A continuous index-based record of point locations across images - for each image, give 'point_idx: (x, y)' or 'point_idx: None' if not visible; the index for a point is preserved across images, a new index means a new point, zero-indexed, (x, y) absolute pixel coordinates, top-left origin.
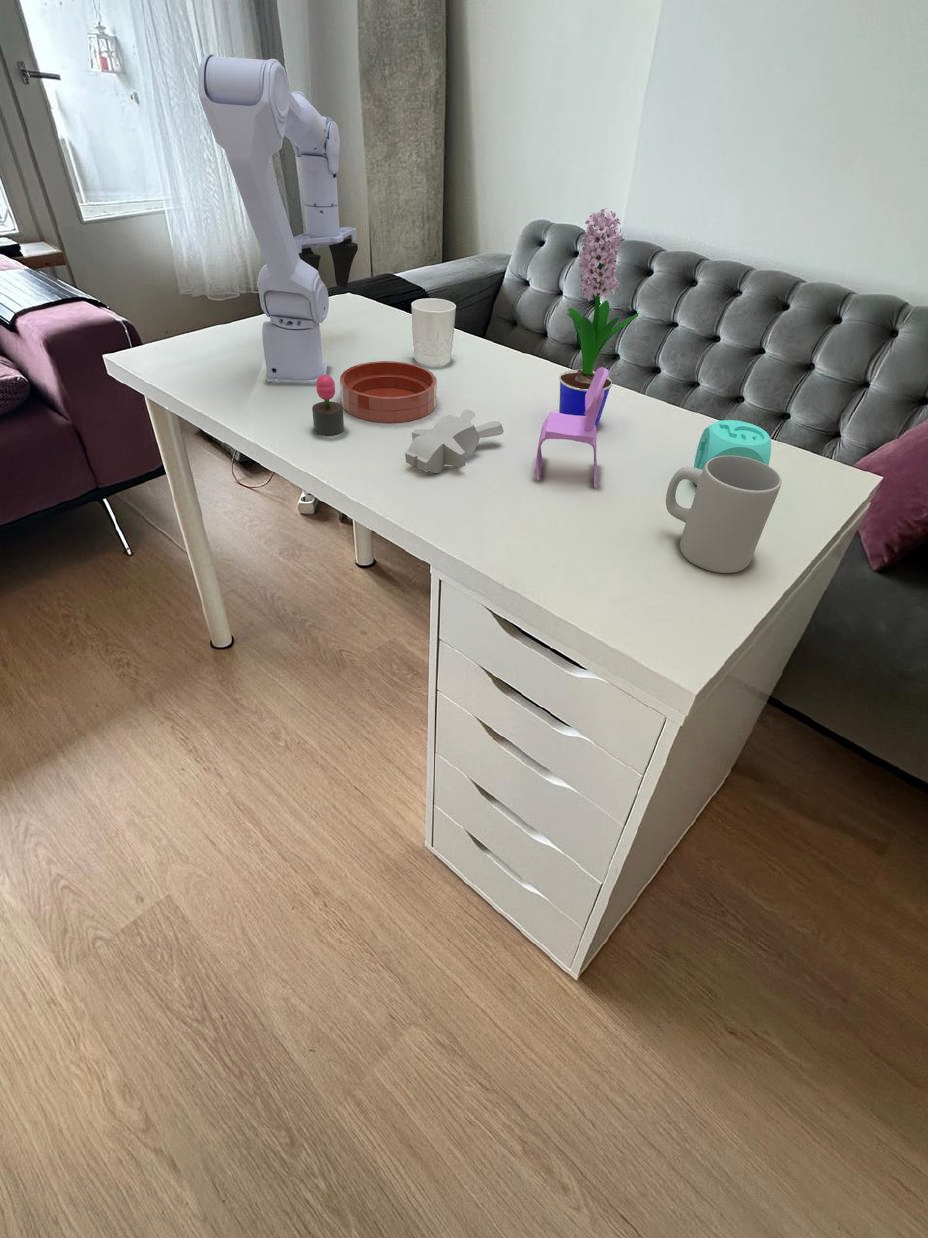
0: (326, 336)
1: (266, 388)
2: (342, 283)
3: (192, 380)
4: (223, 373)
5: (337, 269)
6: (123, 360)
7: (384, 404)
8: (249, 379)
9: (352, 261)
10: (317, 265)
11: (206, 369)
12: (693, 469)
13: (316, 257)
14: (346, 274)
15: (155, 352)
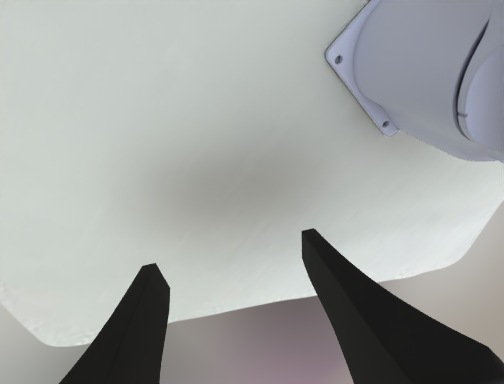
0: (198, 214)
1: None
2: (158, 280)
3: None
4: (451, 157)
5: (156, 343)
6: (459, 253)
7: None
8: None
9: (67, 374)
10: (382, 326)
11: (447, 185)
12: None
13: (465, 374)
14: (136, 304)
15: (421, 259)
